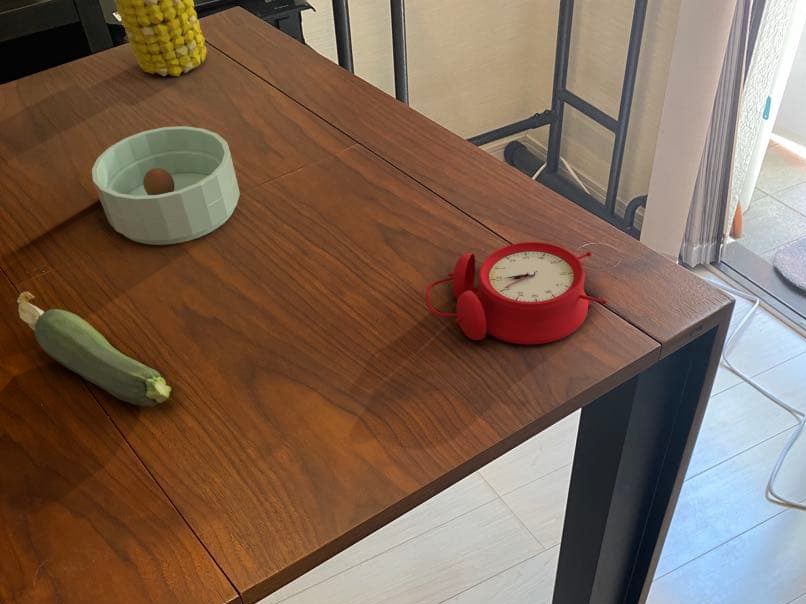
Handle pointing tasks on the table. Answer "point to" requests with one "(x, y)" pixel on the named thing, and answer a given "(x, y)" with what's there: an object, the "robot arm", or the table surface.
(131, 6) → the food
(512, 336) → the alarm clock
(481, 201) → the table surface
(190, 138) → the bowl
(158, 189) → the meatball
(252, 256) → the table surface
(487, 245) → the table surface
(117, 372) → the vegetable
